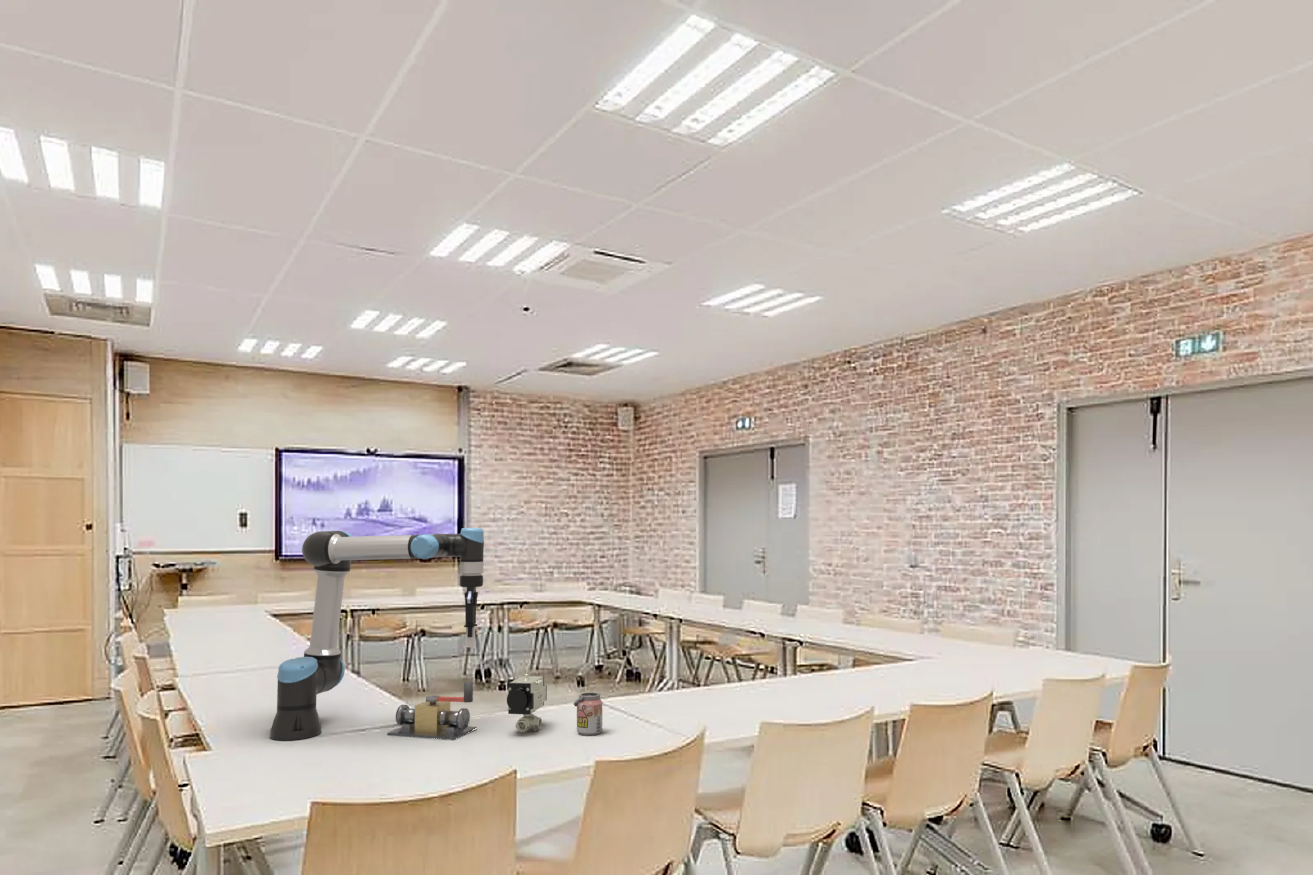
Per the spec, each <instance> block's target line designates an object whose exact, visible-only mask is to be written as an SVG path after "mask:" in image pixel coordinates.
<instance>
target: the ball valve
mask: <svg viewBox="0 0 1313 875" xmlns="http://www.w3.org/2000/svg"><path fill="white" fill-rule="evenodd" d="M507 686H508V690H507V692H508V694H507V697H506V704H507V706H508V707H507V708H508V709H507V710H508V711H507V714H508V715H522V717H520V718H519V719H518V720H517V721H516V724H515V728H516V730H517V731H518V733H522V734H523V733H524V734H525V733H527V732H528V731H530V732H531V731H532V732H536V731H538V730H541V729H542V725H543V720H542V717H540V716H537V715H535V714H533V713H535V712H536V711H538V710H539V709H540V708H542V707H544V705H545V702H546V701H547V700H548V699H547V697H548V694H547V693H548V689H547V687H548V685H547V684H546V685H545V676H544V675H530V674H529V673H525V674H524V675H522V676H519V677H518V678H516V679H514V680H513V681H510V682H508V684H507Z"/></svg>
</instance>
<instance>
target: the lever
mask: <svg viewBox="0 0 1313 875" xmlns="http://www.w3.org/2000/svg"><path fill="white" fill-rule="evenodd" d="M437 701H442V702H450V703H473V701H474V682H473V681H464V682H463V696H443V695H442V696H440V695H436V694H435V695H428V696H425V702H437Z"/></svg>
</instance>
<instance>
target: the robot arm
mask: <svg viewBox="0 0 1313 875" xmlns="http://www.w3.org/2000/svg"><path fill="white" fill-rule="evenodd" d="M484 537H485V536H484V530H483V529H482V528H481V527H464V528H463V527H462V528H461V530H460V533H430V534H424V533H423V534H405V535H404V534H402V535H398V534H397V535H367V536H363V535H362V536H360V535H359V536H353V535H352V534H350V532H349V533H348V532H347V531H341V530H327V531H326V530H325V531H324V530H323V531H315V532H313V533H311V534H310V535H308V536H307V537H306V538H305V540H304V541H303V544H302V548H301V553H302V556H303V558H304V560H305V561H306V562H307V563H308V564H310V565H311V566H313V571H314V572H315V573H316V574H317V579H316V580H317V581H316V589H315V596H314V606H313V616H312V624H311V633H310V642H309V647H307V648H306V649H305V650H304V652H303V656H300V657H295V658H291V659H290V658H289V659H287V660H285V661H283V662H281V663H280V664H279V666H278V671H277V672H278V673H277V678H276V679H277V695H276V699H277V700H276V713H275V715H274V716H275V717H274V719H273V722H272V725H271V728H270V732H269V738H270V739H272V740H275V741H296V740H304V739H310V738H313V737H316V736H319V735H320V734H321V733H322V723H321V721H320V716H319V713H318V709H317V695H319V694H322V693H325V692H329V691H330V690H333V689H334V688H335V687H337V686H338V685H339V684H341V682H342V680H343V678H344V675H345V668H346V667H345V663H344V661H342V660H343V659H342V658H341V654H342V653H341V652H342V651H341V650H340V649H339V648H338V638H339V629H340V623H341V622H340V621H341V612H342V603H343V602H342V601H343V594H344V585H345V577H346V576H347V575H349V573H350V572H351V565H352V564H351V563H352V562H353V561H363V560H364V561H368V560H399V559H400V560H401V559H402V560H403V559H404V560H407V559H420V560H421V559H422V560H428V559H432V558H434V559H435V558H442V557H444V558H445V557H458V558H460V560H459V562H460V563H459V564H458V568H460V572H459V573H460V574H461V575H460V576H459V586H460V587H461V588H466V591H465V592H464V605H465V610H464V611H465V616H464V617H465V624H464V625H463V628H465V648H475V646H476V644H475V643H476V627H478V623H477V604H478V597H479V592H478V591H477V588H479V587H480V588H481V587H483V585H484V576H483V574H484V553H485V552H484V549H485V546H484V544H485V539H484Z"/></svg>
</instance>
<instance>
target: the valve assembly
mask: <svg viewBox="0 0 1313 875" xmlns="http://www.w3.org/2000/svg"><path fill="white" fill-rule="evenodd" d="M470 719H471V714H470V711H469V709H468V708H466V707H465V708H464V707H463V708H462V707H461V708H460V709H459V710H451V702H442V701H437V702H426V701H424V702H420V703H417V704H415V706H414V708H413V707H410V706H409V705H407V704H401V705H399V706H398V707H397V709H396V712H395V722H396V724H397V725H398V726H401V727H398V728H394V729H392V730H390V731H388V732H387V734H386V735H387V736H395V737H404V738H405V737H407V738H420V739H421V738H422V739H432V738H433V739H434V738H435V739H434V740H446V739H451V740H450V741H455V740H457V739H456V738H458V737H460V738H462V737H464V736H465V734H466V733H468V732H470V733H472V732H473V731H472V730H473V729H475V728H478V727H477V726H471V725H470V726H469V724H470ZM471 731H472V732H471ZM468 734H469V733H468ZM463 735H464V736H463ZM466 735H467V734H466ZM461 736H462V737H461ZM436 738H437V739H436ZM438 738H439V739H438ZM440 738H441V739H440ZM458 739H459V738H458Z"/></svg>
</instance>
